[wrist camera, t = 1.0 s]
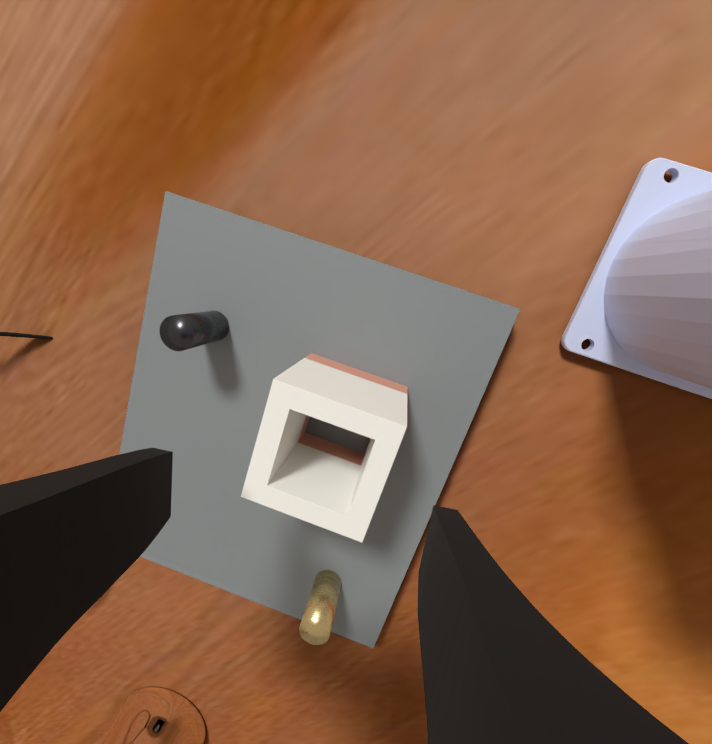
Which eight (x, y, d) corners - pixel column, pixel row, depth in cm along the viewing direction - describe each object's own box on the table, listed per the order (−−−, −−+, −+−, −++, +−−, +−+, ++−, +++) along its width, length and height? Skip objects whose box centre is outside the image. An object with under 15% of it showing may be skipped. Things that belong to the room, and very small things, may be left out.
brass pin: (344, 575, 20) (333, 625, 17) (336, 596, 20) (324, 649, 17) (319, 565, 20) (303, 614, 17) (312, 586, 20) (295, 637, 17)
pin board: (510, 307, 17) (520, 308, 16) (375, 624, 22) (373, 648, 20) (185, 198, 18) (165, 191, 16) (123, 525, 23) (103, 542, 21)
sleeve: (407, 386, 17) (407, 426, 12) (374, 474, 18) (362, 542, 13) (311, 353, 17) (273, 378, 12) (285, 441, 18) (240, 496, 13)
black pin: (232, 316, 17) (196, 322, 14) (225, 344, 18) (189, 356, 15) (204, 306, 17) (163, 310, 14) (197, 335, 18) (156, 344, 15)
